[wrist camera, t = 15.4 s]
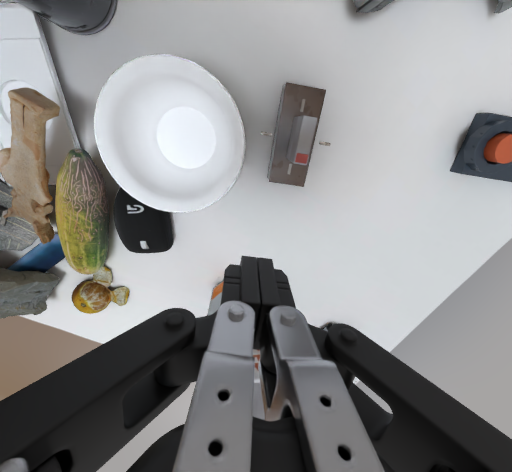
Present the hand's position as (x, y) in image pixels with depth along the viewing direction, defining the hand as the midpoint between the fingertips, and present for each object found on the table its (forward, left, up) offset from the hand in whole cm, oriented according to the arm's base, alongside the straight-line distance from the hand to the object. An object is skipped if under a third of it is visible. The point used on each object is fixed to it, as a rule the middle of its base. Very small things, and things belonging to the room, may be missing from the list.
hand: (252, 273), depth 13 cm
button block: (-9, +38, -27) cm, 47 cm away
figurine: (-6, -23, -19) cm, 30 cm away
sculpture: (+11, -37, -27) cm, 47 cm away
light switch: (-14, -31, -26) cm, 43 cm away
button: (-9, +33, -23) cm, 41 cm away
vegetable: (+18, -24, -25) cm, 39 cm away
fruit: (+24, -22, -27) cm, 42 cm away
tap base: (-6, +6, -27) cm, 28 cm away
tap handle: (-6, +6, -24) cm, 25 cm away
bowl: (-4, -9, -27) cm, 29 cm away
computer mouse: (+9, -15, -27) cm, 32 cm away
